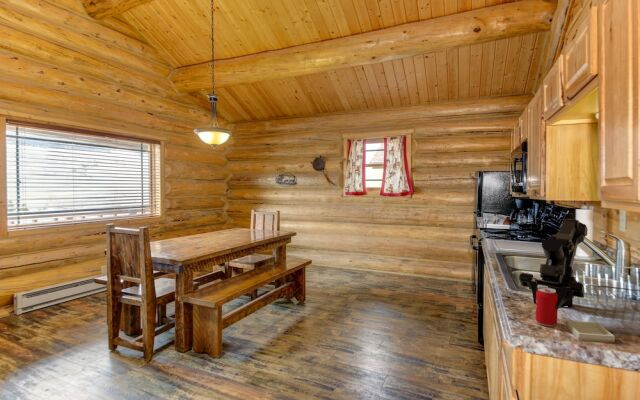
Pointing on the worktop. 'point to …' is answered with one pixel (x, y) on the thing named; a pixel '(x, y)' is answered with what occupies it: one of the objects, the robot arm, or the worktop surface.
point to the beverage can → (546, 306)
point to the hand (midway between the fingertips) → (545, 306)
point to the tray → (589, 331)
